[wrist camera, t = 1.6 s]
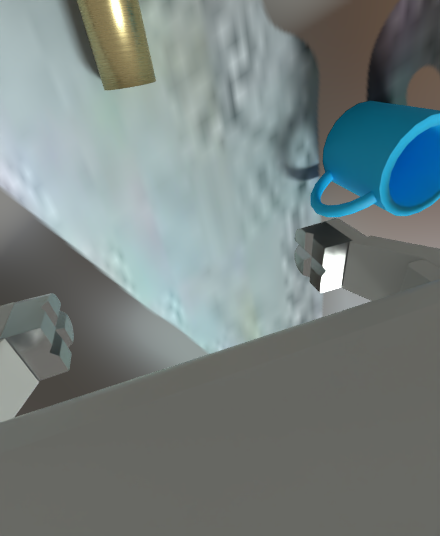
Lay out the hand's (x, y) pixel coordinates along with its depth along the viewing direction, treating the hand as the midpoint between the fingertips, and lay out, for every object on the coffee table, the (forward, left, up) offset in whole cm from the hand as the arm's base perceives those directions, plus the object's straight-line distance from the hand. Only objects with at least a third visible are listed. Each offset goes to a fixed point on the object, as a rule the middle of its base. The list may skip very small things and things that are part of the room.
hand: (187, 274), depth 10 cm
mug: (-19, +5, -19) cm, 27 cm away
